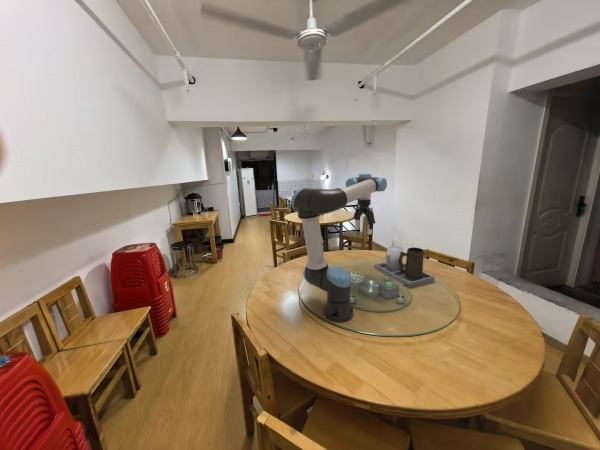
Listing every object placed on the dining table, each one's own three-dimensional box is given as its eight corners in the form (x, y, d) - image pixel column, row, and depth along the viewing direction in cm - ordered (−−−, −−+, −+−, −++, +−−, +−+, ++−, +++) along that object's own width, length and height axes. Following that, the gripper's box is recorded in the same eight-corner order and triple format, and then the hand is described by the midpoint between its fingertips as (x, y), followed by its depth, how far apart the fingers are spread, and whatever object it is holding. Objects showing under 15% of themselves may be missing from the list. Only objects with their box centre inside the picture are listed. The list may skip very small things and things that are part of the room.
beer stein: (418, 273, 159) (419, 246, 155) (427, 280, 149) (427, 251, 144) (396, 276, 159) (395, 248, 155) (403, 283, 149) (403, 253, 144)
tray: (434, 282, 149) (434, 277, 148) (409, 289, 142) (409, 283, 141) (396, 264, 179) (396, 259, 178) (374, 269, 171) (374, 264, 171)
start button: (393, 293, 135) (394, 283, 134) (388, 294, 134) (388, 285, 133) (388, 290, 139) (389, 281, 137) (383, 291, 137) (384, 282, 136)
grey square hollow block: (398, 296, 134) (399, 286, 133) (387, 299, 132) (388, 289, 130) (389, 289, 142) (389, 280, 140) (378, 292, 139) (378, 283, 138)
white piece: (405, 271, 164) (406, 249, 160) (390, 274, 160) (392, 252, 156) (394, 265, 174) (395, 245, 170) (380, 268, 169) (381, 247, 165)
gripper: (382, 200, 135) (380, 235, 139) (358, 196, 158) (357, 227, 162) (371, 201, 132) (370, 237, 137) (348, 197, 155) (348, 228, 160)
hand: (363, 231), depth 150 cm, fingers open, 13 cm apart
